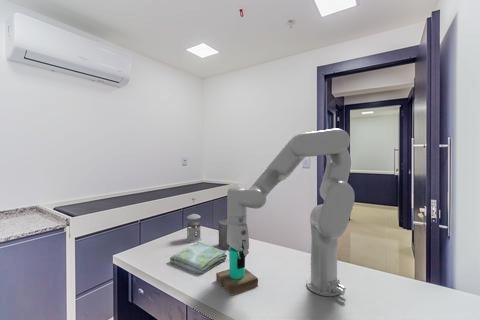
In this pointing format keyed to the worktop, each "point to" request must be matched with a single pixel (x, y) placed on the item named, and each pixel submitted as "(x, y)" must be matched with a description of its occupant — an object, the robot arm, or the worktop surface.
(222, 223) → the pillar candle
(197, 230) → the french press
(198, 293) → the worktop surface
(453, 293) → the worktop surface
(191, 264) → the towel
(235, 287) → the walnut base
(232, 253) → the candle
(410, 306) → the worktop surface
